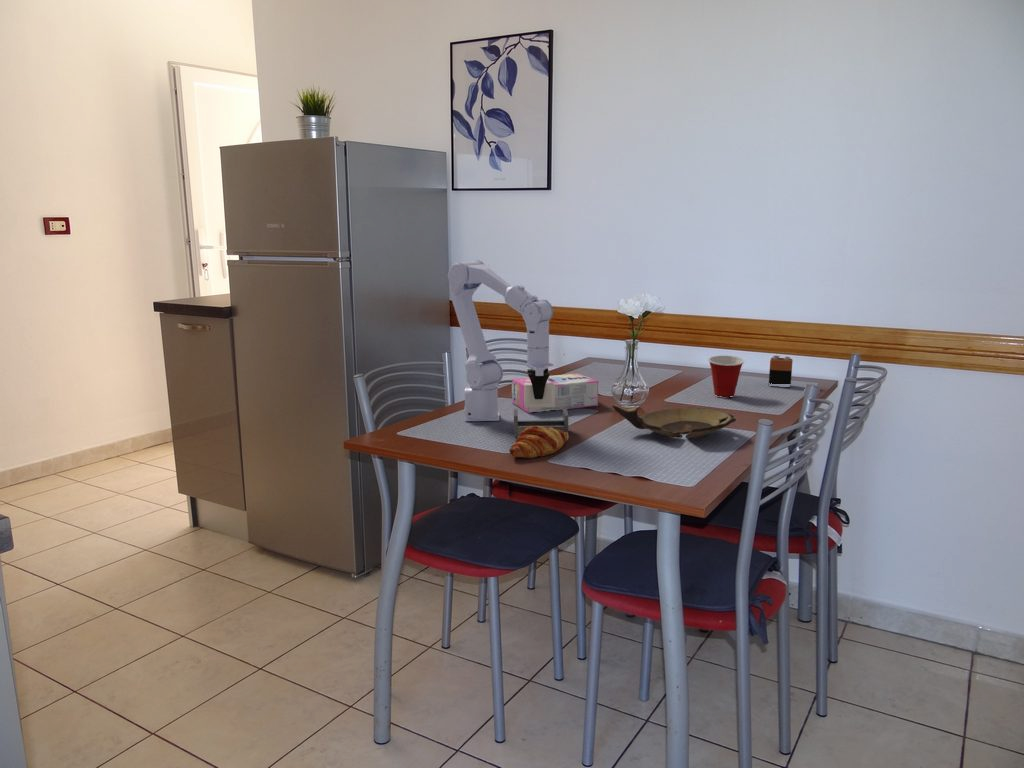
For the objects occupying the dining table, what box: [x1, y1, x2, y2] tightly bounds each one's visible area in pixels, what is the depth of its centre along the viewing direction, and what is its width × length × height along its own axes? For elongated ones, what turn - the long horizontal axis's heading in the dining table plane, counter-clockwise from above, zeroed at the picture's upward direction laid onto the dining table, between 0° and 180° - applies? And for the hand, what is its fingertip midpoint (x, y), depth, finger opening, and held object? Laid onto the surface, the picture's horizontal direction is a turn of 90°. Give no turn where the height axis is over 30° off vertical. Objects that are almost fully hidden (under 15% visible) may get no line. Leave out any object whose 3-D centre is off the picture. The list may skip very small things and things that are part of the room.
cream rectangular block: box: [524, 383, 555, 407], centre depth 208 cm, size 8×3×6 cm, turn 91°
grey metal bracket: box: [513, 408, 569, 438], centre depth 205 cm, size 14×7×6 cm, turn 90°
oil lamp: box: [612, 404, 737, 439], centre depth 204 cm, size 22×30×8 cm
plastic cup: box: [708, 355, 745, 397], centre depth 244 cm, size 11×11×12 cm
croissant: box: [509, 426, 569, 459], centre depth 190 cm, size 21×10×8 cm, turn 140°
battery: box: [768, 355, 793, 385], centre depth 257 cm, size 4×7×10 cm, turn 68°
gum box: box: [511, 372, 599, 414], centre depth 235 cm, size 24×8×14 cm
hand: (538, 397), depth 209 cm, fingers closed on cream rectangular block, 3 cm apart
